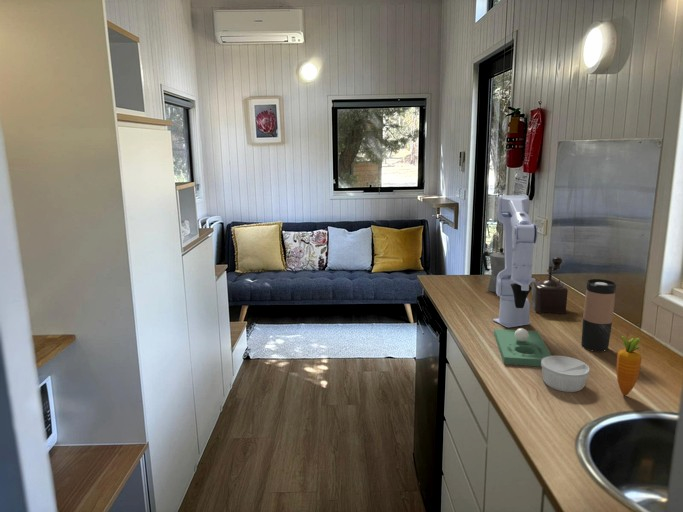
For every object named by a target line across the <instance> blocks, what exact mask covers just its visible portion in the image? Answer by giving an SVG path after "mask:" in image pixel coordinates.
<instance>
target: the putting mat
mask: <svg viewBox="0 0 683 512" xmlns="http://www.w3.org/2000/svg"><path fill="white" fill-rule="evenodd" d="M516 330H517V329H506V328H505V329H503V328H494V333H493V336H494V338H495V339H494V340H495V341H496V345H497V347H498V350H499V351H498V352H499V353H500V357H501V359H502V363H503V364H504V365H514V366H526V367H527V366H530V367H542V366H541V360H542V359H543V358H545V357H548V356H553V355H552V353H551V352H550V350H549V348H548V347H547V345H546V344H545V341H544V340H543V338H542V337H541V336H542V335H540V333H539V331H538V330H527V331H528V334H529V337H528V339H527V340H526V341H524V342H520V341H518V340H516V338H515V336H514V334H515V331H516Z"/></svg>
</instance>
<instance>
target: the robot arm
mask: <svg viewBox="0 0 683 512" xmlns="http://www.w3.org/2000/svg"><path fill="white" fill-rule="evenodd" d="M496 206H497V207H496V210H497V212H496V214H497V215H496V216H497V221H498V222H499V223H501V224H502V226H503V231H504V237H503V238H504V253H505V269H504V270H502V271H501V272H499V273H498V275H497V282H496V293H495V294H496V295H497V297H499V309H498V310H499V311H498V318H493V319H492V321H494V323H498V324H499V325H501V326H503V327H506V328H509V329H510V328H515V327H522V326H527V325H531V322H530V313H531V312H530V311H531V304H530V300H529V299H528V297H529V296H528V295H529V293H530V292H532V286H531V283H533V282H535V281H537V280H536V278H534V277H532V276H533V262H534V248H535V244H536V243H537V239H538V227H537V223H532V221H531V217H530V215H529V214H528V212H529V209H530V197H529V196H528V195H527V194H525V195H503V194H500V195H498V197H497V202H496Z"/></svg>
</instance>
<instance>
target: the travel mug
mask: <svg viewBox="0 0 683 512" xmlns="http://www.w3.org/2000/svg"><path fill="white" fill-rule="evenodd" d="M616 287H617V283H616V282H614V281H613V280H608V279H604V278H603V279H601V278H591V279H588V280H587V281H586V290H585V296H584V297H585V298H584V307H583V316H582V325H581V327H582V329H581V347H582V348H583V347H584V349H585V350H587V349H589V350H588V351H591V350H593V351H592V352H596V351H604V350H607V349H608V350H609V345H610V340H611V331H612V325H613V318H614V309H615V299H616V289H617V288H616ZM608 350H607V351H608ZM604 352H605V351H604Z"/></svg>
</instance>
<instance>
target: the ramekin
mask: <svg viewBox="0 0 683 512" xmlns="http://www.w3.org/2000/svg"><path fill="white" fill-rule="evenodd" d="M540 367H541V372H542V380H543V382H544V383H545V384H546V386H548V387H549V388H551V389H553V390H557V391H560V392H561V391H562V392H564V393H565V392H567V393H574V392H575V393H576V392H580V391H581V390H583V388H584V387H585V385H586V384H587V380H588V377H589V375H590V372H591V369H590V366H589V365H587V363H585V362H583V361H582V360H579V359H577V358H574V357H571V356H565V355H552V356H548V357H545V358H543V359H542V360H541V366H540Z"/></svg>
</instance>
